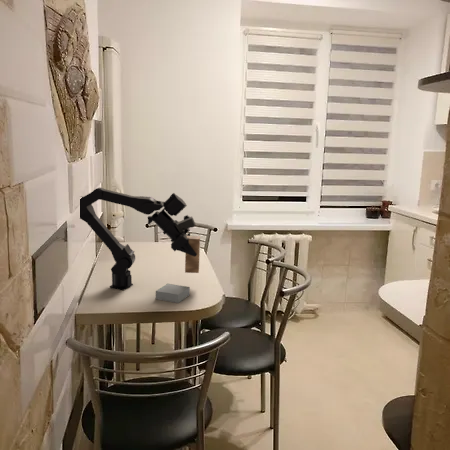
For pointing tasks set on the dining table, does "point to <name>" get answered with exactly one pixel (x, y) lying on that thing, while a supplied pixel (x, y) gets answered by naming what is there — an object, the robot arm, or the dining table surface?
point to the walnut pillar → (190, 260)
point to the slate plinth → (172, 293)
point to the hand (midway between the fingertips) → (196, 253)
